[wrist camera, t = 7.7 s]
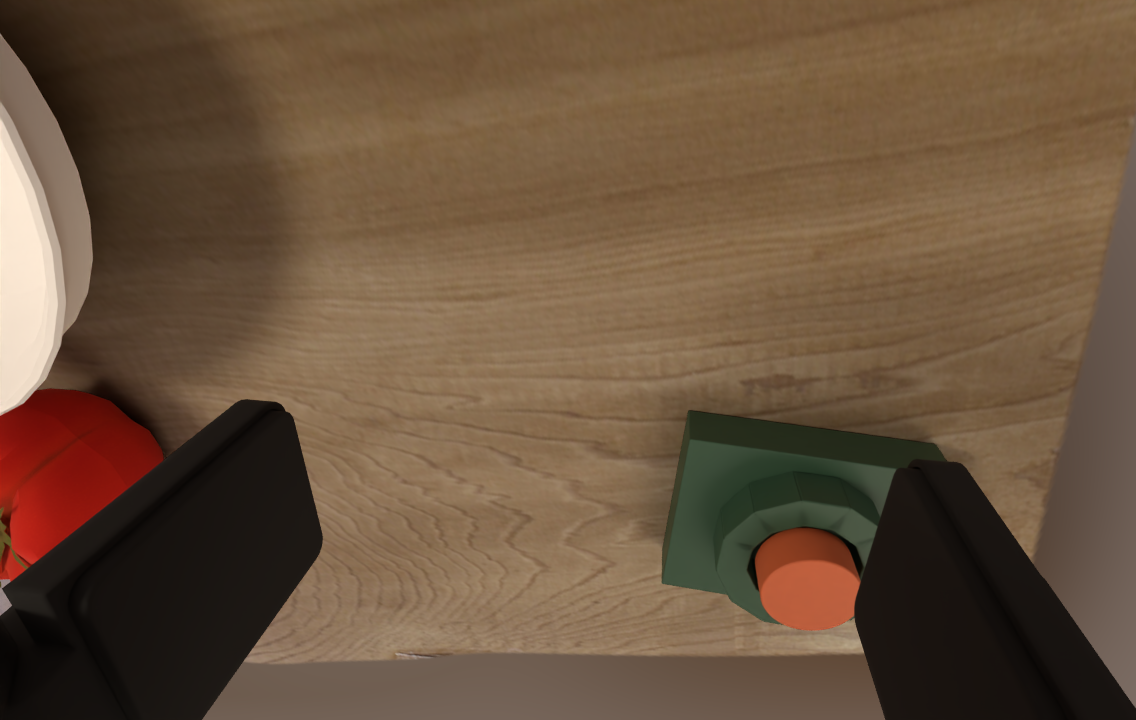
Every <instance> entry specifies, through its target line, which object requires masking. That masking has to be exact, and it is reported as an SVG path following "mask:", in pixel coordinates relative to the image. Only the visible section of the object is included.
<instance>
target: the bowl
mask: <svg viewBox="0 0 1136 720" xmlns="http://www.w3.org/2000/svg"><path fill="white" fill-rule="evenodd" d="M92 262H93V252H92V238H91V225H90V216H89V212H88V208H87V204H86V200H85V196H84V192H83V188H82V184H81V180H80V177H79V173H78V170H77V167H76V165H75V162H74V160H73V158H72V155H71V153H70V151H69V148H68V146H67V143H66V141H65V139H64V136H63V134H62V132H61V129H60V127H59V124H58V122H57V120H56V118H55V116H54V115H53V113H52V111H51V110H50V108H49V106H48V104H47V103H46V101H45V99H44V98H43V96H42V94H41V92H40V91H39V89H38V87H37V86H36V84H35V82H34V80H33V79H32V77H31V75H30V74H29V72H28V70H27V68H26V67H25V66H24V64H23V63H22V62H21V60H20V59H19V58H18V56H17V55H16V54H15V53H14V51H13V50H12V49H11V47H10V46H9V45H8V43H7V42H6V41H5V39H4V38H3V37H2V35H1V34H0V416H1V415H3V414H4V413H6V412H8V411H10V410H12V409H14V408H16V407H18V406H19V405H21V404H23V403H24V402H25V401H26V400H27V399H28V398H29V397H30V396H31V395H32V394H33V393H34V391H35V390H36V389H37V388H38V387H39V386H40V385H41V384H42V383H43V382H44V381H45V380H46V378H47V376H48V373H49V371H50V369H51V367H52V364H53V362H54V360H55V357H56V355H57V353H58V351H59V348H60V346H61V340H62V335H63V334H64V333H65V332H66V331H67V330H68V329H69V328H70V326H71V325H72V324H73V323H74V322H75V321H76V319H77V317H78V314H79V312H80V310H81V307H82V305H83V303H84V301H85V298H86V296H87V294H88V289H89V282H90V275H91V268H92Z"/></svg>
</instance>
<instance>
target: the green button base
mask: <svg viewBox="0 0 1136 720" xmlns="http://www.w3.org/2000/svg"><path fill="white" fill-rule="evenodd" d="M914 459H925V460H936V461H947V460H946V459H945V457H944V456H943V454H942V453H941V451H940V450H939V448H938V447H937V445H935V444H930V443H922V442H915V441H908V440H900V439H893V438H886V437H878V436H871V435H864V434H857V433H849V432H842V431H835V430H827V429H820V428H813V427H805V426H798V425H791V424H784V423H776V422H769V421H762V420H754V419H747V418H740V417H733V416H725V415H718V414H711V413H703V412H696V411H688V415H687V421H686V426H685V431H684V437H683V442H682V447H681V452H680V458H679V463H678V468H677V474H676V479H675V484H674V490H673V495H672V500H671V506H670V511H669V516H668V522H667V527H666V532H665V538H664V543H663V548H662V584H667V585H673V586H679V587H685V588H691V589H697V590H703V591H709V592H715V593H720V594H726V595H728V597H729V599H730V600H731V601H732V602H733V603H735V604H737V605H738V606H740V607H741V608H743V609H744V610H746V611H748V612H749V613H751V614H752V615H754V616H755V617H757V618H759V619H760V620H762V621H764V622H770V623H775V624H781V625H784V624H782V623H780V622H778V621H776V620H775V619H774V618H772V617H771V616H770V615H769V614H768V613H767V611H766V610H765V609H764V607H763V605H762V602H761V598H760V592H759V586H758V580H757V573H756V567H755V558H756V554H757V552H758V550H759V548H760V546H761V545H762V544H763V543H764V542H765V541H766V540H767V539H768V538H770V537H771V536H773V535H775V534H776V533H779V532H781V531H784V530H789V529H793V528H800V527H808V528H816V529H821V530H824V531H827V532H829V533H831V534H833V535H835V536H837V537H838V538H839V539H840V540H842V541H843V542H844V543H845V544H846V546H847V547H848V549H849V551H850V553H851V555H852V558H853V561H854V564H855V567H856V570H857V572H858V575H859V578H860V581H861V579H862V576H863V572H864V569H865V566H866V563H867V559H868V556H869V553H870V550H871V546H872V543H873V540H874V537H875V533H876V530H877V527H878V524H879V520H880V517H881V514H882V511H883V507H884V504H885V501H886V498H887V495H888V491H889V488H890V485H891V482H892V478H893V475H894V473H895V471H896V470H897V469H898V468H907V467H908V465H909V464H910V462H911V461H912V460H914ZM854 618H855V617H854V616H853V617H852V618H851V619H849V620H852V619H854Z"/></svg>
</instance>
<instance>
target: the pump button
mask: <svg viewBox="0 0 1136 720" xmlns="http://www.w3.org/2000/svg"><path fill="white" fill-rule="evenodd" d="M755 567H756V573H757V580H758V586H759V592H760V598H761V602H762V605H763V607H764V609H765V610H766V611H767V613H768V614H769V615H770V616H771V617H772V618H774V619H775V620H776V621H778V622H780V623H782V624H784V625H786V626H789V627H792V628H796V629H801V630H823V629H829V628H833V627H836V626H838V625H841V624H843V623H845V622H846V621H848V620H849V619H851V618H852V617H853V616H854V604H855V599H856V595H857V592H858V589H859V585H860V582H861V581H860V578H859V575H858V572H857V570H856V567H855V564H854V561H853V558H852V555H851V553H850V551H849V549H848V547H847V546H846V544H845V543H844V542H843V541H842V540H840V539H839V538H838V537H837V536H835V535H833V534H831V533H829V532H827V531H824V530H821V529H816V528H808V527H800V528H793V529H789V530H784V531H781V532H779V533H776V534H775V535H773V536H771V537H770V538H768V539H767V540H766V541H765V542H764V543H763V544H762V545H761V546H760V548H759V550H758V552H757V554H756V558H755Z"/></svg>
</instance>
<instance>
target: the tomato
mask: <svg viewBox="0 0 1136 720" xmlns="http://www.w3.org/2000/svg"><path fill="white" fill-rule="evenodd" d="M163 460H164V457H163V453H162V449H161V448H160V446H159V445H158V443H157V442H156V440H155V439H154V437H153V435H152V434H151V432H150V431H149V430H148V429H146V428H144V427H143V426H141V425H139V424H137V423H136V422H134V421H133V420H131V419H130V418H129V417H128V416H127V415H125V414H124V413H123V412H122V411H121V410H120V409H119V408H118V407H117V406H116V405H114V404H113V403H112V402H111V401H109V400H106V399H104V398H101V397H98V396H95V395H92V394H89V393H85V392H81V391H76V390H65V389H51V388H50V389H43V390H36V391H34V393H33V394H32V395H31V396H30V397H29V398H28V399H27V400H26V401H25V402H24V403H23V404H21V405H19V406H18V407H16V408H14V409H12V410H10V411H8V412H6V413H4V414H3V415H1V416H0V579H10V581H12V580H14V579H15V578H16V577H17V576H19V575H20V574H21V573H22V572H24V571H25V570H26V569H28V568H29V567H30V566H31V565H33V564H34V563H35V562H36V561H38V560H39V559H40V558H41V557H43V556H44V555H45V554H46V553H48V552H49V551H50V550H51V549H53V548H54V547H55V546H56V545H58V544H59V543H60V542H61V541H63V540H64V539H65V538H66V537H68V536H69V535H70V534H72V533H73V532H74V531H75V530H77V529H78V528H79V527H80V526H82V525H83V524H84V523H85V522H87V521H88V520H89V519H90V518H92V517H93V516H94V515H95V514H97V513H98V512H99V511H100V510H102V509H103V508H104V507H105V506H107V505H108V504H109V503H111V502H112V501H113V500H114V499H116V498H117V497H118V496H119V495H121V494H122V493H123V492H124V491H126V490H127V489H128V488H129V487H131V486H132V485H133V484H134V483H136V482H137V481H138V480H139V479H141V478H142V477H143V476H144V475H146V474H147V473H148V472H150V471H151V470H152V469H153V468H155V467H156V466H157V465H158V464H160V463H161V462H162V461H163ZM0 587H1V582H0Z"/></svg>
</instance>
